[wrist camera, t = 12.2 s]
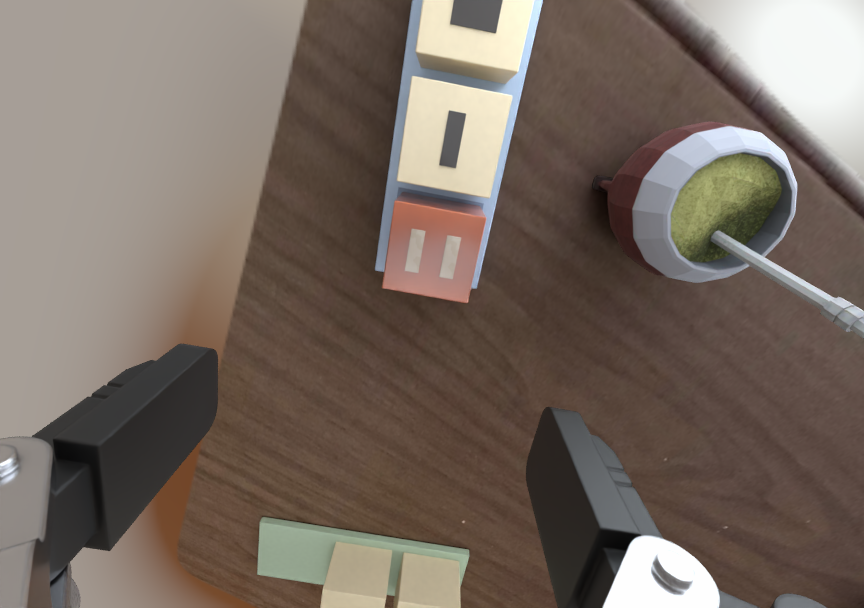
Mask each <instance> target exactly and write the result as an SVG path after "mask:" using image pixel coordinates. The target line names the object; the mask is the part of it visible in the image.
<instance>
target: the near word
mask: <svg viewBox="0 0 864 608" xmlns="http://www.w3.org/2000/svg"><path fill="white" fill-rule="evenodd" d="M542 2H543V0H412V4H411V12H410V19H409V26H408V33H407V41H406V48H405V55H404V62H403V70H402V77H401V84H400V91H399V99H398V106H397V113H396V120H395V127H394V135H393V142H392V149H391V156H390V164H389V171H388V178H387V185H386V193H385V200H384V207H383V214H382V222H381V229H380V236H379V243H378V251H377V258H376V265H375V270H376V271H381V272H384V269H385V262H386V255H387V249H388V242H389V235H390V228H391V221H392V214H393V207H394V201H395V200H396V199H397V198H398V196H399V195H400V194H401V193H402V192H407V193H412V194H417V195H423V196H428V197H433V198H439V199H444V200H449V201H455V202H460V203H465V204H471V205H476V206H480V207H481V209H482V210H483V212H484V214H485V216H486V218H487V219H486V224H485V228H484V233H483V237H482V242H481V246H480V251H479V255H478V259H477V264H476V268H475V273H474V277H473V282H472V286H471V288H474V289H476V288H477V284H478V280H479V275H480V271H481V267H482V262H483V258H484V254H485V249H486V245H487V241H488V236H489V232H490V228H491V223H492V219H493V215H494V210H495V206H496V202H497V197H498V193H499V189H500V184H501V180H502V176H503V171H504V167H505V162H506V158H507V154H508V149H509V145H510V141H511V136H512V132H513V128H514V123H515V119H516V115H517V110H518V106H519V102H520V97H521V93H522V89H523V84H524V80H525V76H526V71H527V67H528V62H529V58H530V54H531V49H532V45H533V41H534V36H535V32H536V28H537V23H538V19H539V15H540V10H541V6H542Z"/></svg>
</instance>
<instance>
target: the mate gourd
mask: <svg viewBox="0 0 864 608" xmlns="http://www.w3.org/2000/svg"><path fill="white" fill-rule="evenodd" d="M592 188H593V189H595V190H599V191H603V192H607V193H608V212H609V221H610V226H611V229H612V231H613V233H614V235H615V237H616V239H617V241H618V243H619V244H620V246H621V248H622V250H623V252H624V253H625V254H626V255H627V256H628V257H630V258H631V259H632V260H634V261H635V262H637V263H638V264H639V265H641V266H642V267H644V268H645V269H646V270H648V271H649V272H651V273H654V274H656V275H660V276H665V277H669V278H674V279H679V280H684V281H689V282H695V283H698V282H704V281H710V280H715V279H721V278H727V277H729V276H731V275H733V274H735V273H737V272H739V271H741V270H743V269H745V268H747V267H748V266H751V267H753V268H754V269H756V270H758V271H759V272H761V273H762V274H764V275H766V276H767V277H769V278H770V279H772V280H774V281H775V282H777V283H778V284H780V285H782V286H783V287H785V288H786V289H788V290H790V291H791V292H793V293H794V294H796V295H798V296H799V297H801V298H802V299H804V300H806V301H807V302H809V303H810V304H812V305H814V306H815V307H817V308H819V309H820V310H821V313H820V314H821V315H823V316H824V317H826V318H827V319H829V320H830V321H832V322H834V323H835V324H836V325H837V326H839V327H840V328H842V329H843V330H845V331H847V332H849V331H851V330H852V331H853V332H855V333H856V334H858V335H859V336H861V337H862V338H863V339H864V311H863V310H861V309H859V308H858V307H856V306H854V305H853V304H851V303H849V302H848V301H846V300H844V299H843V298H840V297H837V298H833V297H832V296H830V295H828V294H826V293H825V292H823V291H821V290H820V289H818V288H816V287H814V286H813V285H811V284H809V283H807V282H806V281H804V280H802V279H800V278H799V277H797V276H795V275H794V274H792V273H790V272H788V271H787V270H785V269H783V268H781V267H780V266H778V265H776V264H775V263H773V262H771V261H769V260H768V259H766V258H764V257H765V256H766V255H767V254H768V253H769V252H770V251H771V250H772V249H773V248H774V247H775V246H776V245H777V244H778V243H779V242H780V241H781V240H782V239H783V237H784V235H785V233H786V231H787V229H788V227H789V225H790V223H791V221H792V219H793V217H794V215H795V209H796V196H797V182H796V180H795V177H794V174H793V172H792V169H791V166H790V164H789V161H788V158H787V156H786V154H785V152H784V151H782V150H781V149H780V148H779V147H778V146H776V145H775V144H774V143H773V142H772V141H770V140H769V139H768V138H767V137H766V136H764V135H763V134H762V133H760V132H756V131H752V130H750V129H746V128H742V127H737V126H732V125H728V124H723V123H718V122H703V123H698V124H694V125H689V126H684V127H679V128H675V129H671V130H667V131H665V132H664V133H662V134H661V135H659V136H657V137H656V138H654V139H653V140H651V141H650V142H648V143H646V144H645V145H643V146H642V147H640V148H639V149H637V150H636V151H635V152H634V153H633V154H632V155H631V156H630V158H629V159H628V160H627V161H626V162H625V163H624V165H623V166H622V167H621V168H620V169H619V170H618V172H617V173H616V175H615V177H614V178H610V177H605V176H596V177H595V178H594V181H593V184H592Z"/></svg>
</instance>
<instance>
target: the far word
mask: <svg viewBox="0 0 864 608" xmlns="http://www.w3.org/2000/svg"><path fill="white" fill-rule="evenodd" d="M468 558H469V550H468V549H462V548H455V547H449V546H443V545H437V544H430V543H424V542H418V541H412V540H405V539H399V538H393V537H387V536H380V535H374V534H368V533H362V532H355V531H349V530H343V529H337V528H330V527H324V526H318V525H312V524H305V523H299V522H293V521H287V520H280V519H274V518H268V517H262V519H261V521H260V528H259V549H258V569H257V574H258V575H263V576H270V577H276V578H282V579H289V580H295V581H302V582H308V583H315V584H321V585H324V587H323V592H322V600H321V607H320V608H384V606H385V602H386V595H392V596H394V605H393V608H461V606H460V586H461V582H462V579H463V575H464V572H465V569H466V565H467V562H468Z"/></svg>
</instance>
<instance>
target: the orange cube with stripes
mask: <svg viewBox="0 0 864 608" xmlns="http://www.w3.org/2000/svg"><path fill="white" fill-rule="evenodd" d="M486 219H487V218H486V216H485V214H484V212H483V210H482V209H481V207H480V206H476V205H471V204H465V203H460V202H455V201H449V200H444V199H439V198H433V197H428V196H423V195H417V194H412V193H407V192H402V193H401V194H400V195H399V196H398V198H397V199H396V200H395V201H394V207H393V214H392V221H391V228H390V235H389V242H388V249H387V255H386V262H385V269H384V276H383V283H382V288H384V289H390V290H395V291H401V292H406V293H412V294H417V295H423V296H428V297H434V298H440V299H445V300H451V301H456V302H462V303H468V300H469V295H470V291H471V286H472V282H473V277H474V273H475V268H476V264H477V259H478V255H479V251H480V246H481V242H482V237H483V233H484V228H485V224H486Z"/></svg>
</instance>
